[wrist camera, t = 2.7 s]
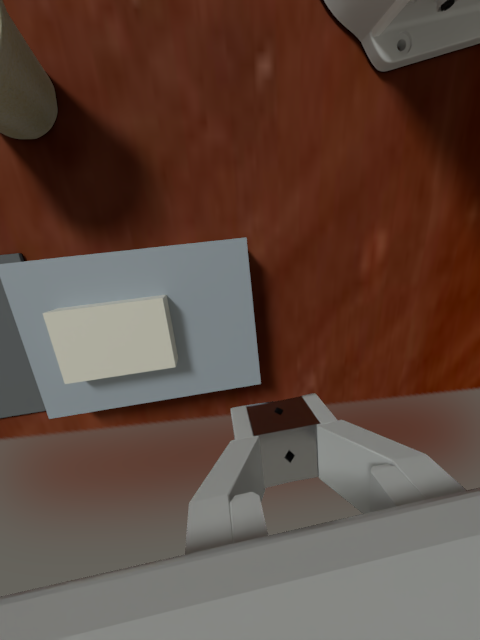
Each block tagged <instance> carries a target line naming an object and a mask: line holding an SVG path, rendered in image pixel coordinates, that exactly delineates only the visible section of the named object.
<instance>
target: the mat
mask: <svg viewBox="0 0 480 640" xmlns="http://www.w3.org/2000/svg"><path fill="white" fill-rule="evenodd" d="M15 262H24V260H23V257H22V254H21V253H17V254H7V255H0V264H6V263H15ZM41 411H46V409H45V406H44V403H43V400H42V397H41V394H40V391H39V388H38V385H37V382H36V380H35V377H34V374H33V371H32V368H31V365H30V362H29V359H28V356H27V354H26V351H25V348H24V345H23V342H22V339H21V336H20V333H19V330H18V327H17V325H16V322H15V319H14V316H13V313H12V310H11V307H10V304H9V301H8V299H7V296H6V293H5V290H4V287H3V284H2V281H1V278H0V418H4V417H10V416H16V415H22V414H28V413H35V412H41Z"/></svg>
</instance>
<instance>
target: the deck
mask: <svg viewBox="0 0 480 640" xmlns="http://www.w3.org/2000/svg"><path fill="white" fill-rule="evenodd" d="M0 278H1V281H2V284H3V287H4V290H5V293H6V296H7V299H8V301H9V304H10V307H11V310H12V313H13V316H14V319H15V322H16V325H17V327H18V330H19V333H20V336H21V339H22V342H23V345H24V348H25V351H26V354H27V356H28V359H29V362H30V365H31V368H32V371H33V374H34V377H35V380H36V382H37V385H38V388H39V391H40V394H41V397H42V400H43V403H44V406H45V409H46V411H47V414H48V417H49V419H52V418H58V417H64V416H70V415H76V414H82V413H88V412H94V411H100V410H106V409H112V408H118V407H124V406H130V405H137V404H143V403H149V402H155V401H161V400H167V399H173V398H179V397H185V396H191V395H197V394H203V393H209V392H215V391H221V390H227V389H233V388H240V387H246V386H252V385H258V384H261V379H260V369H259V359H258V349H257V339H256V329H255V319H254V309H253V299H252V289H251V279H250V269H249V259H248V249H247V239H246V238H237V239H228V240H219V241H209V242H200V243H191V244H182V245H172V246H163V247H154V248H145V249H135V250H126V251H117V252H108V253H98V254H89V255H80V256H71V257H62V258H52V259H43V260H34V261H25V262H15V263H6V264H0ZM159 295H167V300H168V305H169V311H170V316H171V321H172V327H173V332H174V338H175V343H176V348H177V354H178V361H177V364H176V367H174V368H167V369H161V370H154V371H148V372H141V373H135V374H128V375H122V376H115V377H109V378H102V379H96V380H89V381H83V382H76V383H70V384H65V383H64V380H63V377H62V374H61V371H60V368H59V364H58V361H57V358H56V355H55V352H54V349H53V345H52V342H51V339H50V336H49V333H48V330H47V326H46V323H45V320H44V317H43V314H42V313H45V312H48V311H51V310H54V309H57V308H64V307H72V306H80V305H88V304H96V303H104V302H112V301H120V300H128V299H136V298H143V297H151V296H159Z"/></svg>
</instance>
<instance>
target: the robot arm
mask: <svg viewBox="0 0 480 640" xmlns="http://www.w3.org/2000/svg"><path fill="white" fill-rule="evenodd" d="M324 2H325V3H326V5H327V7H328V8H329V10H330V11H331V12H332V14H333V15H334V16H335V17H336V18H337V19H338V21H339V22H341V23H342V24H343V25H344V26H345V27H346V28H347V29H348V30H350V31H351V32H352V33H353V34H354V35H355V36H356V37H357V38H358V39H359V40H360V41H361V43H362V45H363V48H364V50H365V52H366V54H367V56H368V58H369V59H370V61H371V63H372V64H373V66H374V67H375V68H376V69H377V70H379V71H382V72H385V71H389V70H393V69H396V68H399V67H403V66H406V65H409V64H413V63H416V62H419V61H423V60H426V59H429V58H433V57H436V56H439V55H443V54H446V53H449V52H453V51H456V50H459V49H463V48H466V47H469V46H473V45H476V44H479V43H480V0H324ZM397 46H398V47H399V49H400V51H399V50H398V48H397ZM231 416H232V423H233V431H234V438H235V440H232V441H230V443H229V444H228V446H227V447H226V449H225V450H224V452H223V453H222V455H221V457H220V458H219V459H218V461H217V462H216V464H215V465H214V467H213V469H212V470H211V471H210V473H209V474H208V476H207V477H206V479H205V480H204V482H203V483H202V485H201V486H200V488H199V489H198V491H197V492H196V494H195V495H194V497H193V498H192V500H191V501H190V503H189V512H188V524H187V537H186V548H185V555H181V556H176V557H173V558H168V559H163V560H159V561H155V562H150V563H146V564H141V565H137V566H133V567H128V568H124V569H119V570H115V571H111V572H106V573H102V574H97V575H93V576H89V577H85V578H80V579H75V580H71V581H67V582H62V583H58V584H54V585H49V586H45V587H40V588H36V589H32V590H27V591H23V592H18V593H14V594H10V595H5V596H1V597H0V640H480V488H476V489H471V490H466V489H465V488H464V487H463V486H461V485H460V484H459V483H458V482H457V481H456V480H455V479H454V478H452V477H451V476H450V475H449V474H448V473H447V472H446V471H444V470H443V469H442V468H441V467H440V466H439V465H438V464H437V463H436V462H434V461H433V460H432V459H431V458H430V457H429V456H428V455H427V454H424V453H422V452H419V451H417V450H415V449H412V448H410V447H407V446H405V445H402V444H400V443H398V442H395V441H392V440H390V439H388V438H385V437H383V436H380V435H378V434H376V433H373V432H371V431H368V430H366V429H363V428H361V427H358V426H356V425H353V424H351V423H349V422H346V421H344V420H339V421H338V420H337V419H336V418H335V416H334V415H333V414H332V413H331V412H330V410H329V409H328V408H327V407H326V406H325V404H324V403H323V402H322V401H321V400H320V398H319V397H318V396H317V395H316V394H314V393H313V394H309V395H304V396H300V397H295V398H290V399H285V400H280V401H275V402H274V401H272V402H266V403H259V404H253V405H246V406H240V407H234V408H231ZM314 477H319V478H320V479H321V480H322V481H323V482H324V483H326V484H327V485H328V486H329V487H331V488H332V489H333V490H334V491H336V492H337V493H338V494H339V495H341V496H342V497H343V498H344V499H345V500H347V501H348V502H349V503H350V504H352V505H353V506H354V507H355V508H357V509H358V510H359V511H360V512H362V513H363V514H361V515H356V516H352V517H348V518H343V519H339V520H335V521H330V522H326V523H321V524H317V525H313V526H308V527H304V528H299V529H295V530H291V531H286V532H282V533H278V534H273V535H269V536H268V532H267V527H266V523H265V519H264V514H263V510H262V506H261V501H262V498H263V495H264V492H265V488H267V487H270V486H275V485H279V484H283V483H287V482H291V481H297V480H303V479H309V478H314Z"/></svg>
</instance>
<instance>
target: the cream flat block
mask: <svg viewBox="0 0 480 640" xmlns="http://www.w3.org/2000/svg"><path fill="white" fill-rule="evenodd" d="M42 314H43V317H44V320H45V323H46V326H47V330H48V333H49V336H50V339H51V342H52V345H53V349H54V352H55V355H56V358H57V361H58V364H59V368H60V371H61V374H62V377H63V380H64V383H65V384H70V383H76V382H83V381H89V380H96V379H102V378H109V377H115V376H122V375H128V374H135V373H141V372H148V371H154V370H161V369H167V368H174V367H176V364H177V361H178V354H177V348H176V343H175V338H174V332H173V327H172V321H171V316H170V311H169V305H168V300H167V295H159V296H151V297H143V298H136V299H128V300H120V301H112V302H104V303H96V304H88V305H80V306H72V307H64V308H57V309H54V310H51V311H48V312H45V313H42Z"/></svg>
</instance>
